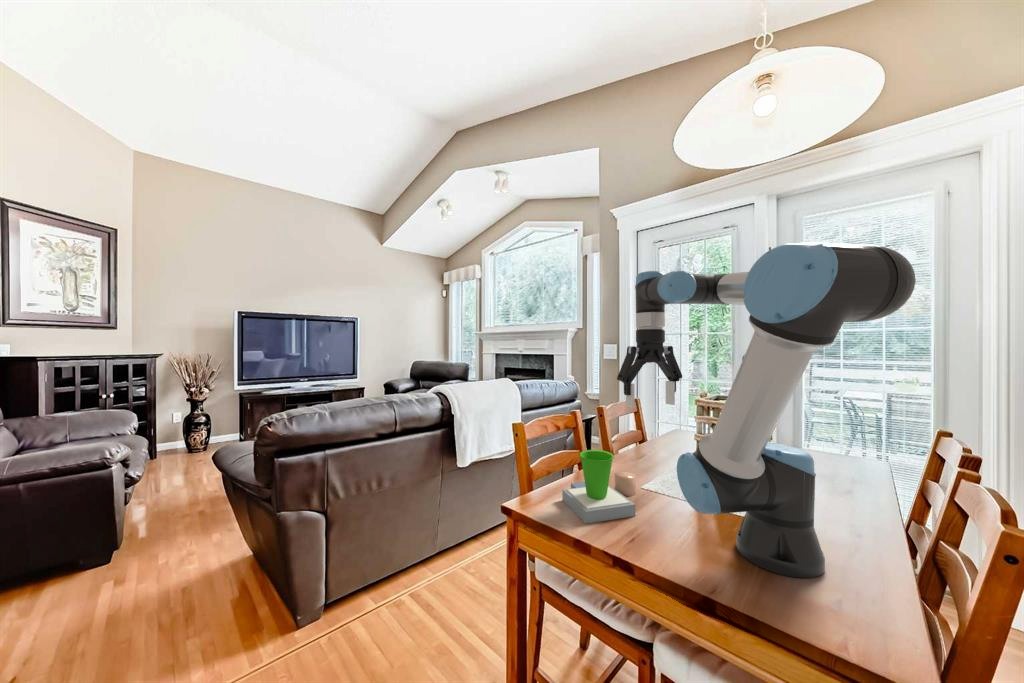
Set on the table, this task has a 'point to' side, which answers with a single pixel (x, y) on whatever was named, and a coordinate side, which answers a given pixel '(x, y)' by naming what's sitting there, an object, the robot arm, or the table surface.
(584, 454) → the cup
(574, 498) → the podium
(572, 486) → the book
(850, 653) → the table surface
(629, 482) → the beige rounded block
